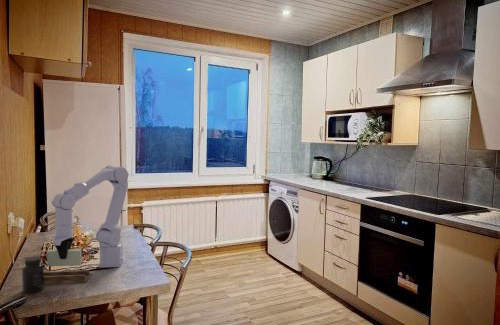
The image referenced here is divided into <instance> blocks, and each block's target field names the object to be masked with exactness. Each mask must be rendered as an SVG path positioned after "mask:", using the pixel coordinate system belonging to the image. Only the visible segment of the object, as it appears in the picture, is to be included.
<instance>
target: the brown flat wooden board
mask: <svg viewBox="0 0 500 325" xmlns="http://www.w3.org/2000/svg"><path fill="white" fill-rule="evenodd" d="M92 275H93V274H92V272H90V270H89V269H87V270H66V271H65V270H56V271H44V285H65V284H66V285H67V284H85V283H87V282H88V280H89V279H90V277H91V276H92Z"/></svg>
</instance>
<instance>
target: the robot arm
mask: <svg viewBox="0 0 500 325" xmlns="http://www.w3.org/2000/svg"><path fill="white" fill-rule="evenodd" d="M129 175H130V173H129V171H128V170H127V169H126V167H124V166H114V165H113V166H112V165H107V166H105V167H103V168H101V169H100V171H99V172H97V173H96V174H94V175H93V176H92V177H90V178H89V179H87V181H85V182H76V183H74V185H73V186H71V187H70V188H68V189H65V190H64V192H63V193H62V192H61V193H56V195H54V197H53V199H52V201H51V204H52V206H53V207H54V210H55V234H53V235H52V238H54V240H53V246H54V247H55V250H57V251H58V254H59V257H60V259H66V258H67V251H68V249H71V248H72V244H73V242H74V240H75V237H73V236H74V230H73V208H74V206H75V204H76V203H77V202H78V201H79V200H81V199H82V198H84V197H85V196H87V195H88V194H89V192H90V190H91V189H93V188H95V187H96V186H98V185H99V184H101V183H103V182H104V181H108V182H109V183H110V184H111V185H112V186H113V188H114V189H113V192H112V196H111V200H110V203H109V205H108V207H109V208H108V211H107V215H106V218H105V222H103V223H101V225H100V227H99V229H98V231H97V232H96V234H95V239H96V241H97V242H98V245H99V263H97V266H96V268H97V267H99V268H120V267H121V265H122V263H123V262H124V258H123V257H124V254H123V252H124V251H123V250H124V246H123V244H119V243H120V242H121V231H122V229H121V227H120V226H119V222H120V219H121V214H122V210H123V206H124V202H125V199H126V196H127V192H128V188H129V182H128V179H129Z"/></svg>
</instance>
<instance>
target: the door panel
mask: <svg viewBox="0 0 500 325" xmlns="http://www.w3.org/2000/svg"><path fill="white" fill-rule="evenodd" d="M82 252H83V251H82V248H75V249H73V248H72V249H71V248H70V249H68V251H67V258H66V259H60V257H59V254H58V251H57V249H48V250H47V252H46V254H47V255H46V256H47V258H46V259H47V260H46V262H47V263H46V264H47V266H46V267H71V266H72V267H73V266H75V267H76V266H81V265H82V263H83V261H82V260H83V259H82V258H83V257H82Z"/></svg>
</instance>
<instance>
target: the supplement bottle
mask: <svg viewBox="0 0 500 325" xmlns="http://www.w3.org/2000/svg"><path fill="white" fill-rule="evenodd" d="M41 262H42V261H41V257H40V256H31V257H27V258H26V259H25V260H24V265H25V266H24V267H23V268H22V270H21V280H22V282H21V283H22V284H21V286H22V288H21V290H22V292H23V293H24V294H26V295H27V294H28V295H30V294H31V295H32V294H33V295H34V294H36V293H39V292H41V291H43V289H44V288H45V284H44V272H45V267H44V265H43V263H41Z"/></svg>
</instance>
